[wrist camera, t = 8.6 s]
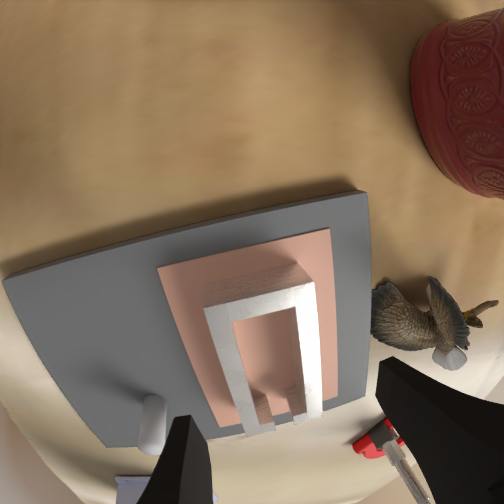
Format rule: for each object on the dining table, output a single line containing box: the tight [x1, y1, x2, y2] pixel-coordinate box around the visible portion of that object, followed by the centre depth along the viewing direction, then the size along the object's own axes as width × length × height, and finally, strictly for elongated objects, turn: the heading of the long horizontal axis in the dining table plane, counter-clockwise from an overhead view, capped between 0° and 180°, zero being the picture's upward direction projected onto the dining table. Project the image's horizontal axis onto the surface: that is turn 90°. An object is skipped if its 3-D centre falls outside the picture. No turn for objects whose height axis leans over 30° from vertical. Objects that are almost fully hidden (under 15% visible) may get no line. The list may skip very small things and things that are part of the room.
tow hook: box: [352, 418, 430, 504], centre depth 20 cm, size 8×13×9 cm
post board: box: [2, 190, 371, 455], centre depth 15 cm, size 22×16×5 cm
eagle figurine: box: [370, 276, 499, 371], centre depth 17 cm, size 8×7×9 cm
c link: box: [202, 262, 323, 437], centre depth 16 cm, size 5×10×2 cm, turn 10°
